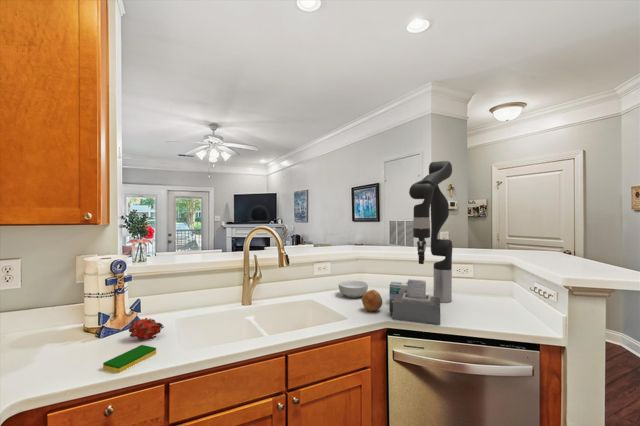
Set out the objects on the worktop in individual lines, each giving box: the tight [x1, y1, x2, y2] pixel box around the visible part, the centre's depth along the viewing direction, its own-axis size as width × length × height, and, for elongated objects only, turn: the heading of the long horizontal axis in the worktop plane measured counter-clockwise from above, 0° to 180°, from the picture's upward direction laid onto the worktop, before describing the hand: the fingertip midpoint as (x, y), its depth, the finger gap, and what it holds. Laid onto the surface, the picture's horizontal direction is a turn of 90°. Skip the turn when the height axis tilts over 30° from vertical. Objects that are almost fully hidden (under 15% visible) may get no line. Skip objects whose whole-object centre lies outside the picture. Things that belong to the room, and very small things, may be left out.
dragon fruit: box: [128, 317, 165, 342], centre depth 118 cm, size 8×8×12 cm
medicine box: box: [406, 279, 427, 299], centre depth 141 cm, size 8×4×9 cm, turn 68°
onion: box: [361, 289, 383, 312], centre depth 150 cm, size 10×10×10 cm
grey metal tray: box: [388, 293, 441, 326], centre depth 141 cm, size 14×22×10 cm, turn 70°
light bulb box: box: [388, 280, 407, 304], centre depth 161 cm, size 11×7×11 cm, turn 68°
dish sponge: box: [102, 344, 157, 374], centre depth 100 cm, size 7×14×2 cm, turn 161°
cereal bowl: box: [338, 280, 369, 299], centre depth 176 cm, size 17×17×7 cm
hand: (421, 262), depth 141 cm, fingers open, 8 cm apart
